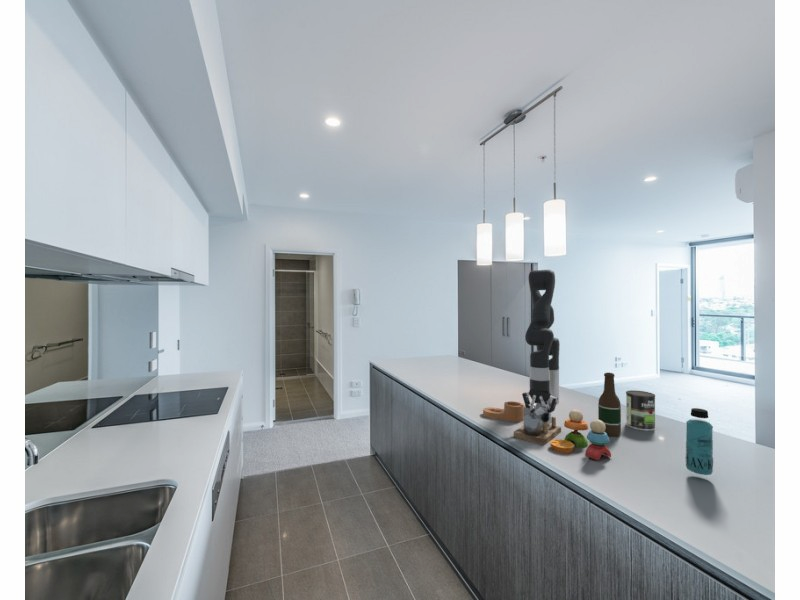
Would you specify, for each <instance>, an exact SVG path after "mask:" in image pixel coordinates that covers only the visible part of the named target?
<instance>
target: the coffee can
mask: <svg viewBox="0 0 800 600" xmlns="http://www.w3.org/2000/svg"><path fill="white" fill-rule="evenodd" d="M625 394H626V398H625V402H626V404H625V405H626V409H625V410H626V413H625V414H626V417H625V418H626V426H627V427H630V428H631V429H634V430H638V431H639V430H640V431H647V432H648V431H654V430H656V394H655V393H652V392H649V391H643V390H635V389H634V390H632V389H631V390H626V391H625Z"/></svg>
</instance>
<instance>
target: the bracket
mask: <svg viewBox="0 0 800 600" xmlns="http://www.w3.org/2000/svg"><path fill="white" fill-rule="evenodd" d="M503 404H504V405H503V408H498V407H485V408H483V409H482V411H483V413H482V415H483V417H485V418H488V419H494V420H501V421H508V422H512V423H521V422H524V419H523V417H524V416H525V415H524V414H525V413H524V412H525V411H524V410H525V409H524V407H525V403H522V402H518V401H512V400H511V401H505V402H504V403H503ZM520 421H521V422H520Z"/></svg>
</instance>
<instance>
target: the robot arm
mask: <svg viewBox="0 0 800 600" xmlns="http://www.w3.org/2000/svg"><path fill="white" fill-rule="evenodd" d="M528 285H529V289H530V295H531V299H532V300H531V303H532V311H531V321H530V323H529V325H528V326H527V327H528V328H527V330H526V332H525V336H524V337H525V338H524V339H525V341H526V343H527V344H528V345H530V346H536V350H535V351H532V352H531V353H530V356H529V359H530V360H529V363H530V366H529V367H530V368H529V376H528V377H529V391H527V392H526V391H524V392H523V393H522V399H523V402H524V403H523V404H524V407H525V408H526V409H529V411H530V413H529V415H530V414H531V413H532V412H534V411H535V410H536V406H537V404H539V405H541V407H543V408H544V411H545V413H544V422H548V421H549V413H550V412H551V413H553V412H555V409H556V407H557V404H560V340H559V338H557V337H555V335H554V331H552V330H551V327H552V326H553V324H554V322H555V311H554V308H553V306H552V301H553V297H554V292H555V288H556V287H555V286H556V274H555V271H554V270H553V269H536V270H531V271H529V273H528ZM540 291H544V292H543V294H541V292H540ZM550 356H552V357H551V358H550ZM530 398H531V401H530ZM549 406H550V407H549ZM549 408H550V409H549Z"/></svg>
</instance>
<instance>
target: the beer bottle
mask: <svg viewBox="0 0 800 600" xmlns="http://www.w3.org/2000/svg"><path fill="white" fill-rule="evenodd" d="M603 376H604V383H603V392H602V394H601V395H600V396H599V398H598V403H597V404H598V411H597V413H598V415H597V416H598V420H601V421H602V422H603V423H604V424H605V426H606V429H605V431H604V432H606V433H607V435H608V437H619V436H620V435H621V432H622V424H621V423H622V419H621V417H622V414H621V413H622V408H621V407H622V406H621V400H620V398H619V396H618V395H617V393H616V388H615V386H616V385H615V377H616V376H615V373H613V372H605V373H604V374H603Z"/></svg>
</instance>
